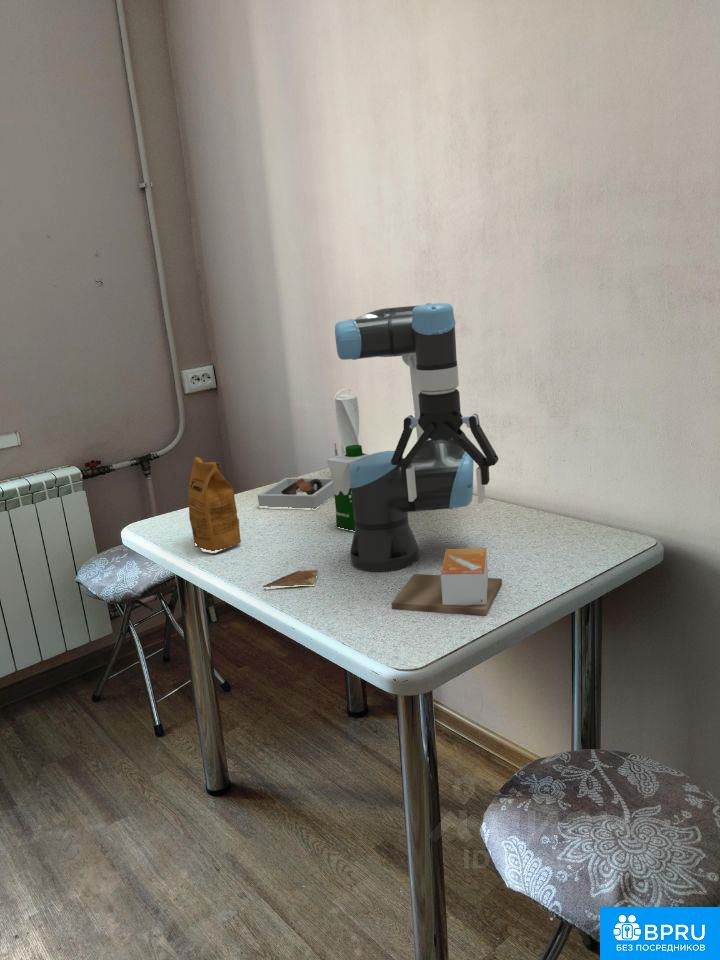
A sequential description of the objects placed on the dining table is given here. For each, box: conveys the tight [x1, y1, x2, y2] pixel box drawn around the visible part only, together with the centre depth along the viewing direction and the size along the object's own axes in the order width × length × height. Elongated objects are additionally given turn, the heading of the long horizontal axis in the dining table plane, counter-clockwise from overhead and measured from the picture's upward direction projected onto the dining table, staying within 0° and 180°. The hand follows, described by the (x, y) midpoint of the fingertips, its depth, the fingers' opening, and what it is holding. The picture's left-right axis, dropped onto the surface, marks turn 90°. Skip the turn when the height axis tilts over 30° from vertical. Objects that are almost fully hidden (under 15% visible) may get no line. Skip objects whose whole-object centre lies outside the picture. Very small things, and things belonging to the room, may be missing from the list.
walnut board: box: [391, 573, 503, 616], centre depth 150 cm, size 18×14×1 cm
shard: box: [262, 569, 319, 588], centre depth 165 cm, size 11×8×2 cm
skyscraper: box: [333, 387, 360, 456], centre depth 234 cm, size 8×8×28 cm
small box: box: [440, 547, 489, 606], centre depth 148 cm, size 8×6×13 cm
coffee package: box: [187, 456, 242, 551], centre depth 189 cm, size 10×12×22 cm
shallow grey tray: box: [257, 477, 334, 509], centre depth 223 cm, size 17×17×4 cm
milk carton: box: [326, 444, 368, 531], centre depth 193 cm, size 9×9×20 cm
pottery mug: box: [281, 477, 323, 495], centre depth 220 cm, size 12×10×8 cm
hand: (446, 500), depth 149 cm, fingers open, 13 cm apart
